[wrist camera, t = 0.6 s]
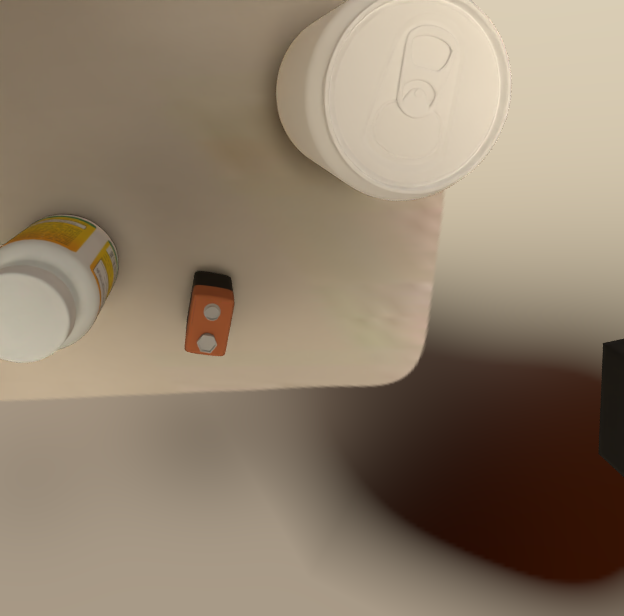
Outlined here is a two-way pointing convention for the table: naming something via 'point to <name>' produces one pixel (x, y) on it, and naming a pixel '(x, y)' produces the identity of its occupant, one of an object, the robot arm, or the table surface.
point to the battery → (209, 314)
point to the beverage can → (396, 94)
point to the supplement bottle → (53, 285)
